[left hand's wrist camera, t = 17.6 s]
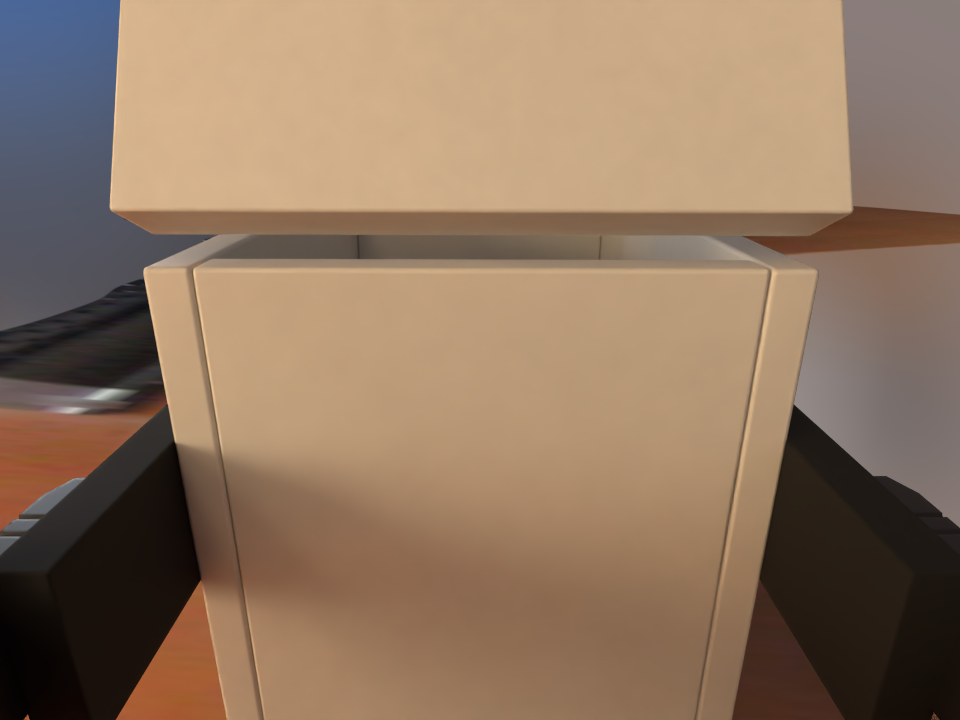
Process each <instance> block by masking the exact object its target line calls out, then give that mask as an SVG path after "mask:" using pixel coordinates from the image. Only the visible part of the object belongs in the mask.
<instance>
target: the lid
mask: <svg viewBox="0 0 960 720" xmlns="http://www.w3.org/2000/svg"><path fill="white" fill-rule="evenodd" d="M110 209H111V211H113V212H114V213H116V214H118V215H120V216H122V217H123V218H125V219H127V220H129V221H131V222H132V223H134V224H136V225H138V226H139V227H141V228H143V229H145V230H147V231H149V232H150V233H152V234H265V235H611V236H810V235H812V234H814V233H816V232H818V231H819V230H821V229H823V228H825V227H827V226H829V225H831V224H832V223H834V222H836V221H838V220H840V219H842V218H844V217H845V216H847V215H849V214H851V213H852V212H853V193H852V173H851V153H850V133H849V113H848V93H847V73H846V53H845V33H844V13H843V0H121V5H120V24H119V43H118V62H117V81H116V100H115V119H114V138H113V156H112V176H111V195H110Z"/></svg>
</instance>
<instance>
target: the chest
mask: <svg viewBox="0 0 960 720" xmlns="http://www.w3.org/2000/svg"><path fill="white" fill-rule="evenodd" d="M143 274H144V279H145V285H146V290H147V295H148V301H149V306H150V311H151V317H152V322H153V327H154V333H155V338H156V343H157V349H158V354H159V359H160V365H161V370H162V375H163V381H164V386H165V391H166V397H167V402H168V407H169V413H170V418H171V423H172V429H173V434H174V439H175V445H176V450H177V455H178V461H179V466H180V471H181V477H182V482H183V487H184V493H185V498H186V503H187V509H188V514H189V519H190V525H191V530H192V535H193V541H194V546H195V551H196V557H197V562H198V567H199V573H200V578H201V583H202V589H203V594H204V599H205V605H206V610H207V615H208V621H209V626H210V631H211V637H212V642H213V647H214V653H215V658H216V663H217V669H218V674H219V679H220V685H221V690H222V695H223V701H224V706H225V711H226V717H227V720H732V716H733V711H734V706H735V701H736V696H737V691H738V686H739V681H740V675H741V670H742V665H743V660H744V655H745V650H746V645H747V640H748V635H749V629H750V624H751V619H752V614H753V609H754V604H755V599H756V594H757V589H758V584H759V578H760V573H761V568H762V563H763V558H764V553H765V548H766V542H767V537H768V532H769V527H770V522H771V517H772V511H773V506H774V501H775V496H776V491H777V485H778V480H779V475H780V470H781V465H782V459H783V454H784V449H785V444H786V440H787V436H788V430H789V425H790V420H791V415H792V410H793V405H794V400H795V395H796V390H797V384H798V379H799V374H800V369H801V364H802V359H803V354H804V349H805V344H806V339H807V333H808V328H809V323H810V318H811V313H812V308H813V303H814V298H815V293H816V288H817V283H818V277H819V272H818V270H817V269H814V268H812V267H810V266H808V265H805V264H803V263H801V262H799V261H796V260H794V259H792V258H790V257H787V256H785V255H783V254H781V253H778V252H776V251H774V250H772V249H769V248H767V247H765V246H763V245H760V244H758V243H756V242H753V241H751V240H749V239H747V238H744V237H742V236H611V235H265V234H220V235H218V236H216V237H213V238H211V239H209V240H207V241H204V242H202V243H200V244H198V245H195V246H193V247H191V248H189V249H186V250H184V251H182V252H180V253H177V254H175V255H173V256H171V257H168V258H166V259H164V260H162V261H159V262H157V263H155V264H153V265H150V266H148V267H146V268H145V269H144V272H143Z"/></svg>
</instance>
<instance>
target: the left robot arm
mask: <svg viewBox="0 0 960 720" xmlns="http://www.w3.org/2000/svg"><path fill="white" fill-rule="evenodd" d="M759 579H760V581H761V582H762V584H763V586H764V587H765V589H766V591H767V592H768V594H769V595H770V597H771V599H772V600H773V602H774V604H775V605H776V607H777V609H778V610H779V612H780V614H781V615H782V617H783V618H784V620H785V622H786V623H787V625H788V627H789V628H790V630H791V632H792V633H793V635H794V637H795V638H796V640H797V641H798V643H799V645H800V646H801V648H802V650H803V651H804V653H805V655H806V656H807V658H808V660H809V661H810V663H811V664H812V666H813V668H814V669H815V671H816V673H817V674H818V676H819V678H820V679H821V681H822V682H823V684H824V686H825V687H826V689H827V691H828V692H829V694H830V696H831V697H832V699H833V701H834V702H835V704H836V705H837V707H838V709H839V710H840V712H841V714H842V715H843V717H844V719H845V720H931V718H932V715H933V712H934V713H935V714H936V715H937V716H938V718H939V719H940V720H960V528H959V527H958V526H957V525H956V524H954V523H953V522H952V521H951V520H950V519H949V518H947V517H943V516H942V513H941V512H940V511H939V510H938V509H937V508H936V507H934V506H933V505H932V504H931V503H930V502H928V501H927V500H926V499H925V498H924V497H923V496H921V495H920V494H919V493H917V492H915V491H914V490H912V489H910V488H908V487H906V486H904V485H902V484H900V483H898V482H896V481H894V480H892V479H891V478H889V477H887V476H872V475H871V474H870V473H869V472H868V471H867V470H866V469H865V468H863V467H862V466H861V465H860V464H859V463H858V462H857V461H856V460H855V459H854V458H852V457H851V456H850V455H849V454H848V453H847V452H846V451H845V450H844V449H842V448H841V447H840V446H839V445H838V444H837V443H836V442H835V441H834V440H833V439H831V438H830V437H829V436H828V435H827V434H826V433H825V432H824V431H823V430H821V429H820V428H819V427H818V426H817V425H816V424H815V423H814V422H813V421H811V420H810V419H809V418H808V417H807V416H806V415H805V414H804V413H803V412H802V411H800V410H799V409H798V408H797V407H796V406H795V405H793V410H792V415H791V420H790V425H789V430H788V436H787V440H786V444H785V449H784V454H783V459H782V465H781V470H780V475H779V480H778V485H777V491H776V496H775V501H774V506H773V511H772V517H771V522H770V527H769V532H768V537H767V542H766V548H765V553H764V558H763V563H762V568H761V573H760V578H759ZM200 580H201V578H200V573H199V567H198V562H197V557H196V551H195V546H194V541H193V535H192V530H191V525H190V519H189V514H188V509H187V503H186V498H185V493H184V487H183V482H182V477H181V471H180V466H179V461H178V455H177V450H176V445H175V439H174V434H173V429H172V423H171V418H170V413H169V407H168V404H167V405H166V406H165V407H164V408H162V409H161V410H160V411H159V412H158V413H157V414H156V415H155V416H154V417H153V418H151V419H150V420H149V421H148V422H147V423H146V424H145V425H144V426H143V427H141V428H140V429H139V430H138V431H137V432H136V433H135V434H134V435H133V436H132V437H130V438H129V439H128V440H127V441H126V442H125V443H124V444H123V445H122V446H120V447H119V448H118V449H117V450H116V451H115V452H114V453H113V454H112V455H111V456H109V457H108V458H107V459H106V460H105V461H104V462H103V463H102V464H101V465H99V466H98V467H97V468H96V469H95V470H94V471H93V472H92V473H91V474H89V475H88V476H87V477H86V478H75V479H73V480H71V481H69V482H67V483H65V484H63V485H61V486H60V487H58V488H56V489H54V490H52V491H50V492H48V493H46V494H44V495H43V496H41V497H40V498H39V499H38V500H37V501H36V502H34V503H33V504H32V505H31V506H30V507H29V508H27V509H26V510H25V511H24V512H23V513H22V514H20V515H19V519H14V520H13V521H12V522H11V523H10V524H9V525H7V526H6V527H5V528H4V529H3V530H2V531H0V720H24V718H25V717H26V716H27V714H28V715H29V718H30V720H116V718H117V716H118V715H119V713H120V712H121V710H122V708H123V707H124V705H125V703H126V702H127V700H128V698H129V697H130V695H131V693H132V692H133V690H134V689H135V687H136V685H137V684H138V682H139V680H140V679H141V677H142V675H143V674H144V672H145V670H146V669H147V667H148V666H149V664H150V662H151V661H152V659H153V657H154V656H155V654H156V652H157V651H158V649H159V647H160V646H161V644H162V643H163V641H164V639H165V638H166V636H167V634H168V633H169V631H170V629H171V628H172V626H173V625H174V623H175V621H176V620H177V618H178V616H179V615H180V613H181V611H182V610H183V608H184V606H185V605H186V603H187V602H188V600H189V598H190V597H191V595H192V593H193V592H194V590H195V588H196V587H197V585H198V583H199V582H200Z"/></svg>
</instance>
